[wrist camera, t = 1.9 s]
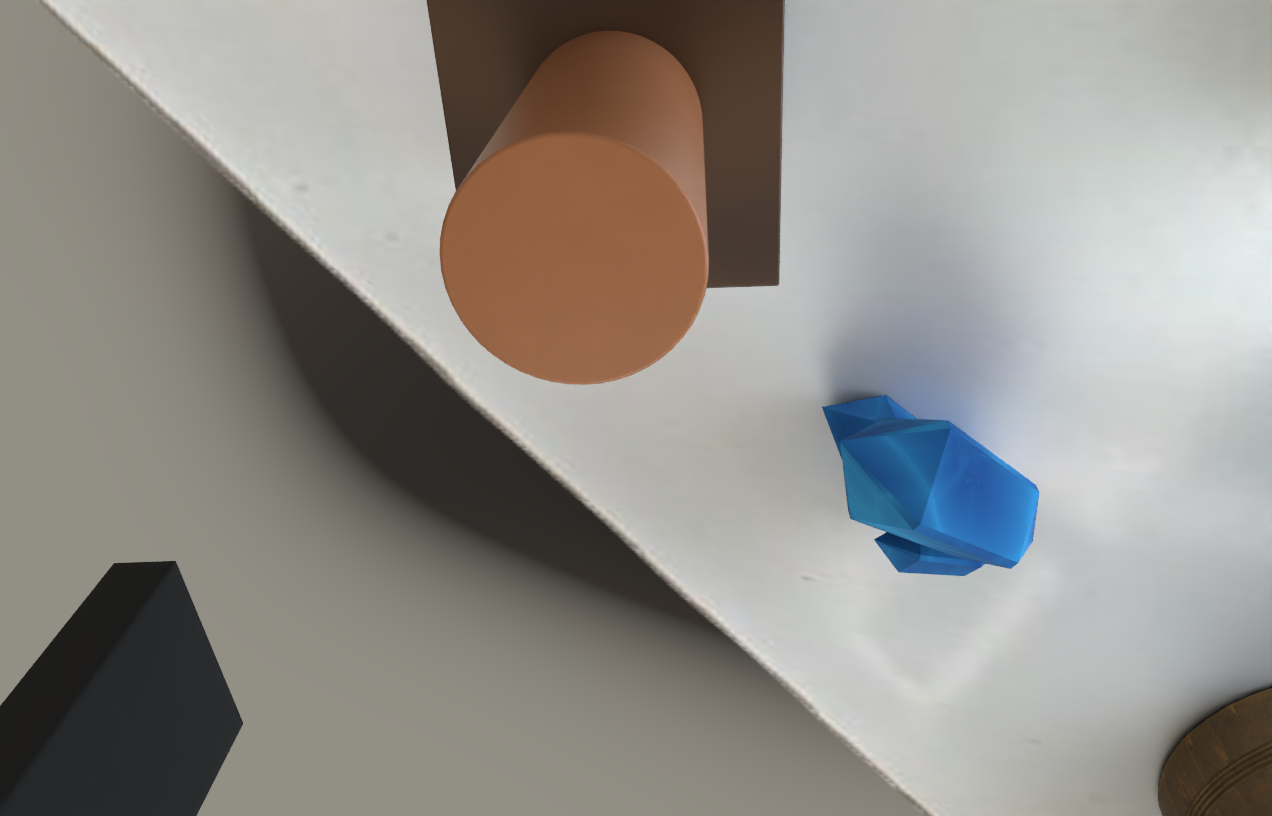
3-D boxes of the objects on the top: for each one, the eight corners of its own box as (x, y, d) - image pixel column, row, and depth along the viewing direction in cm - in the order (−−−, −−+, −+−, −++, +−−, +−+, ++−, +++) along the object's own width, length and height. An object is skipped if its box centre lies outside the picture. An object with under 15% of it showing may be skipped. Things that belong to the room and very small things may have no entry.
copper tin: (512, 35, 25) (417, 138, 16) (700, 24, 24) (706, 125, 16) (533, 215, 27) (460, 389, 18) (704, 209, 27) (711, 383, 18)
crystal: (988, 664, 40) (775, 576, 35) (913, 519, 47) (725, 426, 42) (1130, 553, 37) (919, 437, 32) (1027, 414, 44) (839, 299, 39)
